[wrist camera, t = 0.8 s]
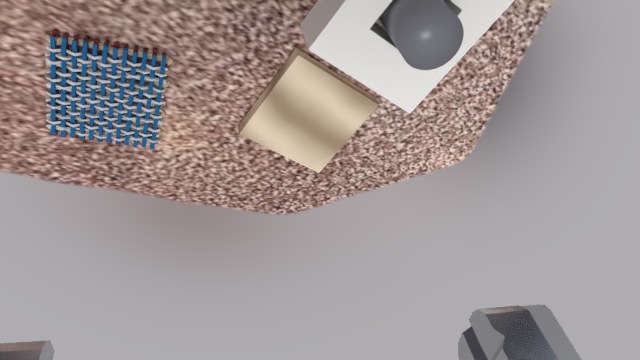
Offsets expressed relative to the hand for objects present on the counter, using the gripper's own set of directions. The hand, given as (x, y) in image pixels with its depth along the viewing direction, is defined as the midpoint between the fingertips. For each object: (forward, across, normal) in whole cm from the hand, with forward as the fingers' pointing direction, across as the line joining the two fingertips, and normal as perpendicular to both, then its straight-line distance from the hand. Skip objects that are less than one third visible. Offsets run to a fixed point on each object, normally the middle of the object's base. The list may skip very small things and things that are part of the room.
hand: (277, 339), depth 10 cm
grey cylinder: (+38, -16, +7) cm, 42 cm away
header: (+39, -16, +7) cm, 42 cm away
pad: (+39, -9, +19) cm, 44 cm away
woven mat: (+40, +10, +17) cm, 44 cm away
